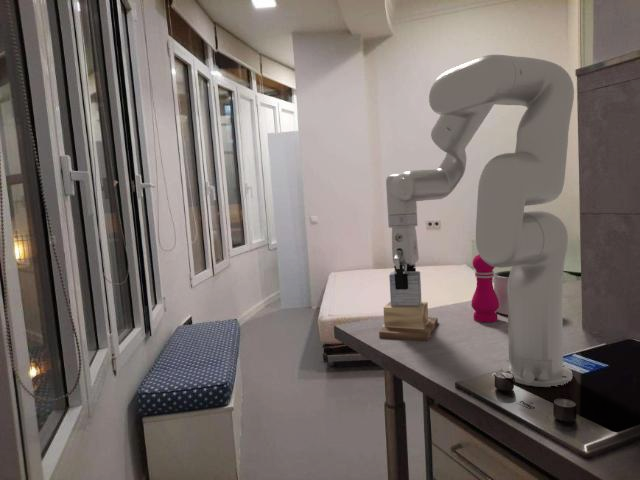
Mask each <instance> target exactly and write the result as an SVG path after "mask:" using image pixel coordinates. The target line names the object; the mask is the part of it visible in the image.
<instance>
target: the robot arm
mask: <svg viewBox="0 0 640 480" xmlns="http://www.w3.org/2000/svg"><path fill="white" fill-rule="evenodd" d="M428 94H429V95H428V103H429V106H430V108H431V110H432V111H433V112H434V113H435V114H438V115H439V117H438V119H437V121H436V122H435V124H434V126H433V127H432V129H431V133H430V138H431V140H432V142H433V143H434V144H435V145H436V146H437V147H438V148H439V149H440V150H442V151H443V152H444V153H446V154H445V157H444V159H443V160H442V162H441V163H440V165H439V166H438V168H437V169H420V170H419V169H418V170H417V169H416V170H407V171H404V172H402V173H394V174H390V175H387V177H386V179H385V187H386V189H385V190H386V205H387V222H388V228H389V229H391V254H392V263H393V265H394V266H393V267H394V271H393V272H394V273H395V288H396V289H398V290H407V289H408V275H407V274H406V271H417V270H416V269H417V268H416V263H417V262H418V261H419V247H418V237H417V230H416V227H418V226H419V225H418V206H417V202H423V201H434V200H437V201H438V200H442V199H444V198H447V197H448V196H449V195H450V194H451V193H452V192H453V191H454V190H455V188H457V185H458V184H459V183H460V181H461V180H462V178H463V176H464V174H465V172H466V166H467V152H466V148H467V146H468V145H469V143H471V141H472V139H473V137H474V136H475V134H476V133H477V131H478V130H479V128H480V127H481V125H482V124H483V122H484V121H485V119H486V117H488V115H489V114H490V112H491V110H492V108H493V107H494V105H498V106H499V105H500V106H501V105H503V106H523V107H525V108H526V110H525V111H524V113H523V115H522V117H521V119H520V121H519V123H518V126H517V131H516V141H515V142H516V143H515V144H516V145H515V150H514V152H507V153H506V152H505V153H502V154H498V155H496V156H494V157H493V158H491V159H490V160H488V162H487V163H486V164H485V165H484V166H483V169H482V170H481V171H482V172H481V174H480V177H479V179H478V187H477V203H476V204H477V205H476V218H475V219H476V220H475V223H476V224H475V244H476V245H475V246H476V250H477V252H478V255H480V256H481V258H482V259H483V260H484V261H485V262H486V263H487V264H488V265H491V266H493V267H495V268H501V269H502V268H510V267H511V269H510V270H509V271H510V275H509V279H508V316H507V324H508V325H507V330H508V331H507V332H508V360H506V361H504V362H503V363H502V364H501V365H500V373H501V372H509V373H511V374H513V375H514V379H515V382H514V383H517V384H521V385H524V386H531V387H536V388H537V387H538V388H539V387H540V388H552V387H551V386H555V387H559V386H558V385H561V386H565V385H567V384H569V383H570V382H572V381H573V372H572V369H570V368H569V367H568V366H566V365H565V364H564V350H563V349H564V345H563V344H564V342H563V341H564V334H563V333H564V332H563V329H564V327H563V325H564V324H563V321H564V318H563V290H564V289H563V285H564V284H563V278H564V269H565V268H564V266H565V260H566V255H567V251H568V244H569V242H568V241H569V239H568V230H567V228H566V227H567V226H566V225H565V224H564V221H562V220H561V219H560V218H559V217H558V216H557V215H555V214H554V213H550V212H548V211H540V210H538V211H537V210H534V211H532V210H531V211H525V207H526V206H536V205H537V206H538V205H543V204H547V203H551V202H553V201H556V200H557V199H558V198H559V197H560V196H561V194H562V192H563V189H564V185H565V177H566V169H567V157H568V145H569V131H570V123H571V122H570V121H571V117H572V111H573V105H574V99H575V89H574V83H573V79H572V77H571V76H570V73H569V72H568V71H567V70H566V69H565V68H564V67H562V66H561V65H559V64H557V63H555V62H553V61H549V60H546V59H540V58H534V57H527V56H526V57H525V56H515V55H506V54H487V55H483V56H480V57H478V58H476V59H473V60H470V61H468V62H466V63H463V64H460V65H459V66H458V65H457V66H456V67H453V68H451V69H448V70H446V71H445V72H443V73H441V74H440V75H439V76H438V77H437V78H436V79H435V81H434V82H433V83H432V85H431V87H430V90H429V93H428ZM569 381H570V382H569ZM568 382H569V383H568ZM566 383H567V384H566ZM564 384H565V385H564Z"/></svg>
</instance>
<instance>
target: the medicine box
mask: <svg viewBox="0 0 640 480" xmlns="http://www.w3.org/2000/svg"><path fill="white" fill-rule="evenodd" d="M406 274H407V275H408V289H407V290H398V289H396V288H395V273H394V271H391V272H390V274H389V275H388V277H389V295H390V301H391V306H421V302H422V283H421V280H422V279H421V272H420V270H419V271H418V270H416V271H406Z"/></svg>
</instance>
